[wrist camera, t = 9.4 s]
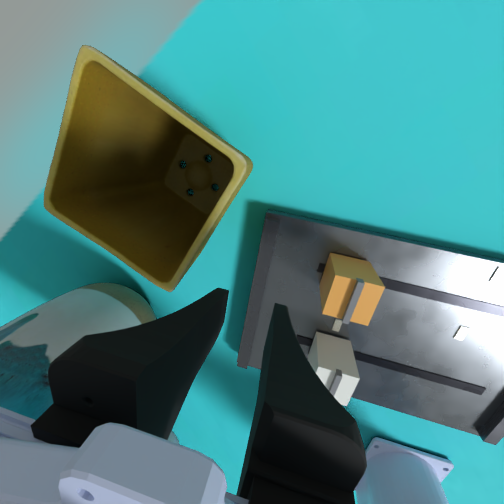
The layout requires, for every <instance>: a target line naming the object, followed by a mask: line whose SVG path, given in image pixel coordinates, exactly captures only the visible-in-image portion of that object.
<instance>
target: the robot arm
mask: <svg viewBox="0 0 504 504" xmlns="http://www.w3.org/2000/svg"><path fill="white" fill-rule="evenodd" d="M228 294H229V290H225V289H221V288H217V289H215V290H213V291H212V292H210V293H208V294H207V295H205V296H204V297H202V298H200V299H199V300H197V301H195V302H193V303H192V304H190V305H188V306H186V307H184V308H182V309H180V310H178V311H176V312H174V313H172V314H169V315H167V316H164V317H162V318H159V319H156V320H153V321H150V322H147V323H144V324H141V325H137V326H133V327H129V328H125V329H120V330H115V331H110V332H104V333H97V334H91V335H85V336H83V337H82V338H81V339H80V340H78V341H77V342H76V343H74V344H73V345H72V346H71V347H69V348H68V349H67V350H66V351H64V352H63V353H62V354H61V355H59V356H58V357H57V358H56V359H54V360H53V361H52V362H51V363H50V366H49V369H48V380H49V385H50V389H51V394H52V399H53V404H52V405H51V406H50V407H49V408H48V409H47V410H46V411H45V412H44V413H43V414H42V415H41V416H40V417H39V418H38V419H37V420H34V419H32V418H29V417H26V416H24V415H21V414H18V413H16V412H13V411H10V410H8V409H5V408H2V407H0V504H355V499H354V492H353V491H354V490H356V495H357V502H358V504H449V503H448V500H447V498H446V495H445V493H444V490H443V488H442V486H441V482H442V480H443V479H444V478H445V477H446V476H447V475H448V473H449V472H450V471H451V470H452V469H453V467H454V466H453V464H452V462H451V461H450V460H447V459H444V458H441V457H438V456H435V455H431V454H428V453H425V452H422V451H419V450H416V449H413V448H410V447H406V446H403V445H400V444H397V443H394V442H391V441H388V440H385V439H382V438H378V437H375V438H373V439H372V441H371V443H370V444H369V446H368V448H367V449H366V451H365V449H364V445H363V441H362V438H361V435H360V432H359V429H358V426H357V423H356V420H355V419H354V418H353V417H352V416H351V415H350V414H349V413H348V412H347V411H346V410H345V408H344V407H343V406H342V405H341V404H340V403H339V402H338V401H337V400H336V399H335V398H334V396H333V395H332V394H331V393H330V391H329V390H328V389H327V388H326V387H325V385H324V384H323V382H322V381H321V380H320V378H319V377H318V375H317V374H316V373H315V371H314V370H313V368H312V366H311V365H310V363H309V361H308V359H307V358H306V356H305V354H304V352H303V350H302V348H301V346H300V344H299V341H298V339H297V337H296V334H295V331H294V329H293V326H292V323H291V319H290V316H289V311H288V307H287V306H285V305H282V304H278V303H275V304H274V308H273V312H272V317H271V321H270V325H269V329H268V333H267V337H266V341H265V346H264V350H263V357H262V365H261V373H260V381H259V390H258V397H257V403H256V407H255V412H254V417H253V422H252V426H251V431H250V436H249V440H248V445H247V449H246V454H245V459H244V463H243V468H242V473H241V477H240V482H239V486H238V491H237V495H233V494H231V493H228V492H226V489H227V484H226V479H225V474H224V472H223V470H222V469H221V468H220V467H219V466H218V465H217V464H216V463H215V461H214V460H213V459H211V458H209V457H207V456H206V455H204V454H202V453H200V452H198V451H196V450H193V449H190V448H188V447H185V446H182V445H179V444H176V443H174V442H171V441H168V438H169V435H170V433H171V431H172V428H173V426H174V423H175V421H176V419H177V416H178V414H179V412H180V410H181V407H182V405H183V403H184V400H185V398H186V396H187V394H188V391H189V389H190V387H191V385H192V382H193V380H194V379H195V377H196V375H197V373H198V371H199V369H200V368H201V366H202V364H203V362H204V361H205V359H206V357H207V355H208V354H209V352H210V350H211V348H212V347H213V345H214V343H215V341H216V339H217V338H218V335H219V333H220V331H221V328H222V326H223V323H224V319H225V313H226V306H227V300H228Z"/></svg>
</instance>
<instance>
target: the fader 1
mask: <svg viewBox="0 0 504 504" xmlns="http://www.w3.org/2000/svg"><path fill="white" fill-rule="evenodd" d="M319 287H320V297H321V307H322V314H325V315H328V316H332V317H336V318H340V319H341V320H342V323H345V324H349V322H350V321H351V322H355V323H359V324H362V325H366V326H368V325H369V322H370V320H371V318H372V316H373V313H374V311H375V309H376V307H377V304H378V302H379V300H380V298H381V295H382V293H383V291H384V289H385V286H384V284H383V283H382V281H381V279H380V278H379V276H378V275H377V273H376V271H375V270H374V268H373V266H372V265H371V263H370V262H369V261H364V260H360V259H356V258H352V257H347V256H343V255H339V254H334V253H330V254H329V257H328V260H327V263H326V266H325V269H324V273H323V276H322V279H321V282H320V285H319Z"/></svg>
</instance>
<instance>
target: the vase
mask: <svg viewBox="0 0 504 504" xmlns="http://www.w3.org/2000/svg"><path fill="white" fill-rule="evenodd" d="M153 320H156V316H155V314H154V311H153V310H152V308H151V306H150V305H149V304H148V302H147V301H146V300H145V299H144V298H143V297H142V296H141V295H140V294H138V293H137V292H135V291H134V290H132V289H130V288H128V287H126V286H123V285H119V284H115V283H95V284H89V285H86V286H82V287H80V288H77V289H75V290H72V291H70V292H67V293H65V294H63V295H61V296H58V297H56V298H54V299H52V300H50V301H48V302H46V303H44V304H42V305H40V306H38V307H36V308H34V309H32V310H30V311H29V312H27V313H25V314H23V315H21V316H19V317H18V318H16V319H14V320H12V321H10V322H9V323H7V324H5V325H3V326H1V327H0V407H2V408H5V409H8V410H10V411H13V412H16V413H18V414H21V415H24V416H26V417H29V418H32V419H34V420H37V419H38V418H39V417H40V416H41V415H42V414H43V413H44V412H45V411H46V410H47V409H48V408H49V407H50V406H51V405H52V404H53V399H52V394H51V389H50V385H49V380H48V369H49V366H50V363H51V362H52V361H53V360H54V359H56V358H57V357H58V356H59V355H61V354H62V353H63V352H64V351H66V350H67V349H68V348H69V347H71V346H72V345H73V344H74V343H76V342H77V341H78V340H80V339H81V338H82V337H83V336H85V335H91V334H97V333H104V332H110V331H115V330H120V329H125V328H129V327H133V326H137V325H141V324H144V323H147V322H150V321H153Z"/></svg>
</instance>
